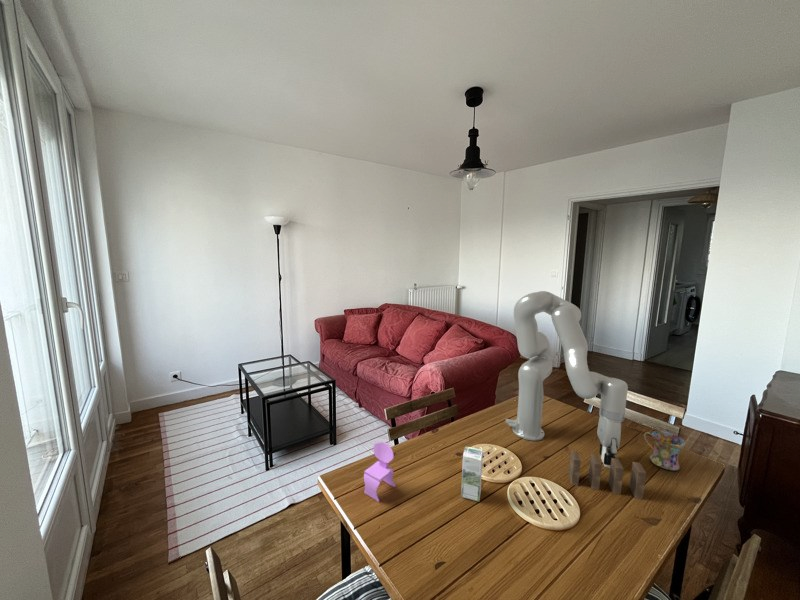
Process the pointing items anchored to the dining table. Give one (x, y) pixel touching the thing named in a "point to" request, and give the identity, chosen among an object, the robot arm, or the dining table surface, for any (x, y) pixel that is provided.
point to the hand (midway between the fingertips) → (606, 459)
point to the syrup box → (471, 473)
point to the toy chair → (379, 470)
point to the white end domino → (603, 455)
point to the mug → (665, 449)
